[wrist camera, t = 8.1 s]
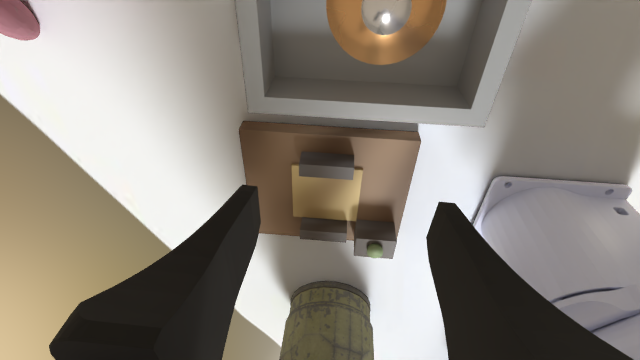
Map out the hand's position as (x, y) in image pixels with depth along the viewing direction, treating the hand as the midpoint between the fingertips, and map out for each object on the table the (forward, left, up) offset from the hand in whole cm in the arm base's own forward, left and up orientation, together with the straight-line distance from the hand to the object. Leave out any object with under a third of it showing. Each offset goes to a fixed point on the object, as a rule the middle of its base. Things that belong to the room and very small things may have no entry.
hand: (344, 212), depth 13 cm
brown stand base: (+1, +7, -10) cm, 12 cm away
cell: (-1, -7, -10) cm, 12 cm away
